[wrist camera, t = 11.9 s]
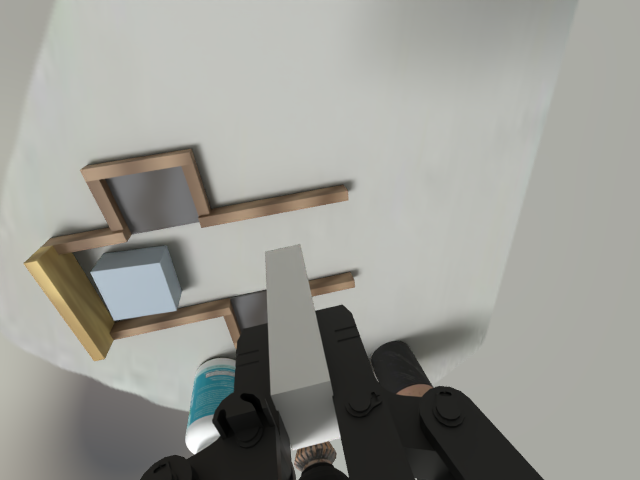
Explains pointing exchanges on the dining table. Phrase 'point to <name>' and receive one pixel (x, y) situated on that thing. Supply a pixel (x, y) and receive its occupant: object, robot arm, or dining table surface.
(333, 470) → the oil lamp
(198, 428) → the pill bottle
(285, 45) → the dining table surface
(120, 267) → the slate block
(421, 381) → the travel mug
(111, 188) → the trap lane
